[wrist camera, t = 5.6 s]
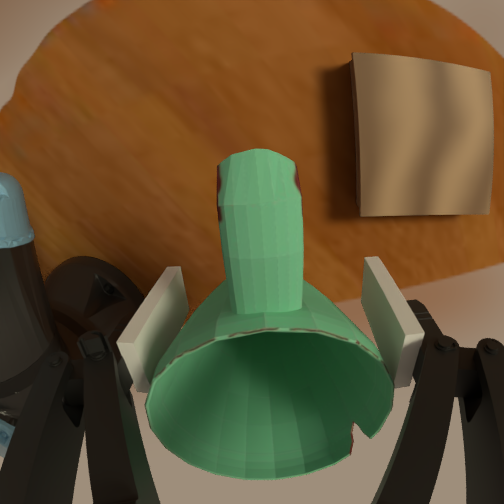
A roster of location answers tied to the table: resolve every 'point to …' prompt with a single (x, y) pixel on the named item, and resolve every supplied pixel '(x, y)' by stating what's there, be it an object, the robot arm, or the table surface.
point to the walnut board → (421, 136)
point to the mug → (266, 347)
